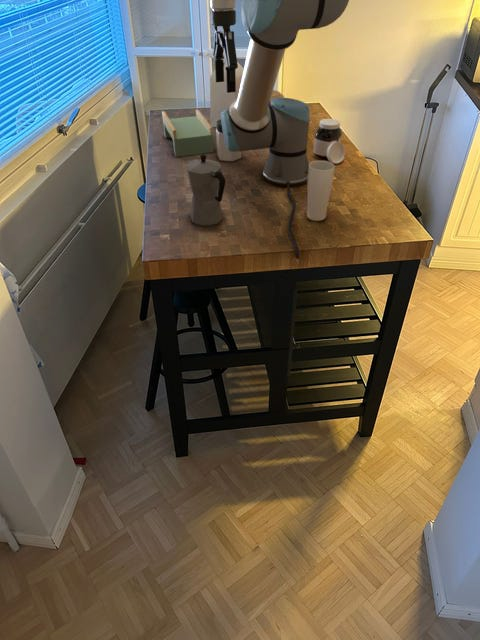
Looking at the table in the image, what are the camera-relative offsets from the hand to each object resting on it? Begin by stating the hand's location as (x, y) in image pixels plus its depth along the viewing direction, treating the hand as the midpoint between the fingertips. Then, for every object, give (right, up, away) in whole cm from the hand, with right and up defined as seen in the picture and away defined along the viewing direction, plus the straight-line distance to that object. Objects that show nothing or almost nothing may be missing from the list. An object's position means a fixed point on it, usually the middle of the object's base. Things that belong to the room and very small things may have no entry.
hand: (225, 86), depth 154 cm
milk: (+1, +4, +40) cm, 40 cm away
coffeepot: (-4, -48, -22) cm, 53 cm away
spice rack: (-15, -10, +23) cm, 29 cm away
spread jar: (+36, -19, +11) cm, 42 cm away
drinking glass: (+26, -47, -21) cm, 58 cm away
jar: (+1, -19, +13) cm, 23 cm away
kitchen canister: (+15, -5, +29) cm, 33 cm away
